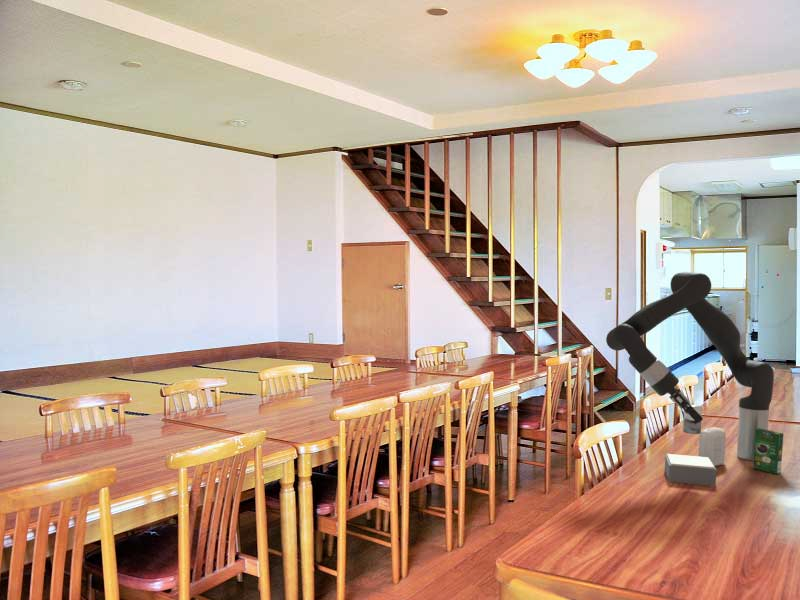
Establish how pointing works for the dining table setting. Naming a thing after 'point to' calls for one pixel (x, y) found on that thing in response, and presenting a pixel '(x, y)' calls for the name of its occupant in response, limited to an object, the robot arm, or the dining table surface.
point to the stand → (690, 469)
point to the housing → (692, 421)
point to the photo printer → (713, 445)
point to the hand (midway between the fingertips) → (698, 419)
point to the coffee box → (768, 451)
